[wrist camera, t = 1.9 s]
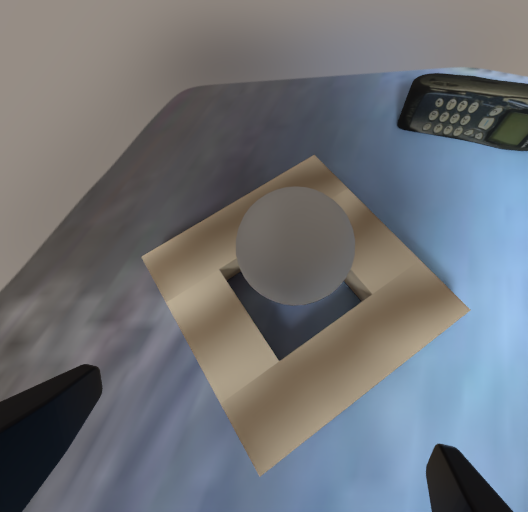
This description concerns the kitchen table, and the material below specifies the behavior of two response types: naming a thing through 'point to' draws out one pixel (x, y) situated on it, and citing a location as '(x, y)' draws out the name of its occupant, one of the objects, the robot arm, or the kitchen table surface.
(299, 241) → the lightbulb
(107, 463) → the kitchen table surface
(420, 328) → the birch holder
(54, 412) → the robot arm
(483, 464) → the kitchen table surface
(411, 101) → the mobile phone
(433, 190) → the kitchen table surface
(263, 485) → the kitchen table surface
